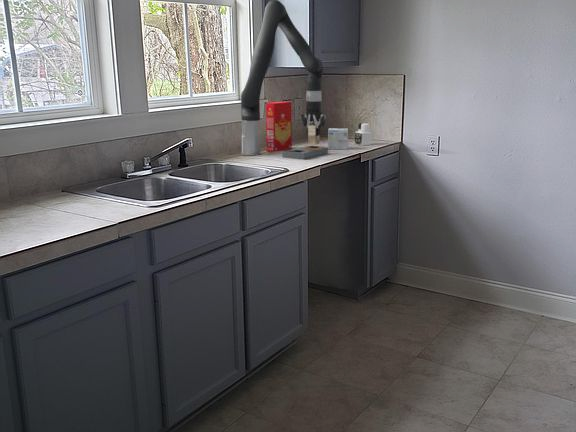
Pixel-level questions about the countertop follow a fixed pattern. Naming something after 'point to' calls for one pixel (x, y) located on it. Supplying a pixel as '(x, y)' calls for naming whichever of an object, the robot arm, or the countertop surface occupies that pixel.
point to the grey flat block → (305, 152)
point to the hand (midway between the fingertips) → (313, 135)
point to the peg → (312, 135)
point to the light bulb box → (338, 138)
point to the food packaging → (278, 126)
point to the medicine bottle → (363, 135)
